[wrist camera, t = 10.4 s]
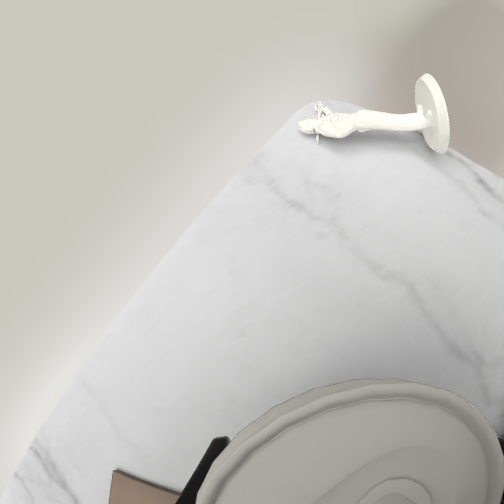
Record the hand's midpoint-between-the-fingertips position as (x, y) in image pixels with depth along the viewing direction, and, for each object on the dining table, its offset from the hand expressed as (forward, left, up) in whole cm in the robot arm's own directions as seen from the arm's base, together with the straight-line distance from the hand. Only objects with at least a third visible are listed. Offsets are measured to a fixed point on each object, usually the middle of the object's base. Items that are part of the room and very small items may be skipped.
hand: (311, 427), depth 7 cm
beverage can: (-1, -1, -7) cm, 7 cm away
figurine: (+22, -10, -4) cm, 25 cm away
